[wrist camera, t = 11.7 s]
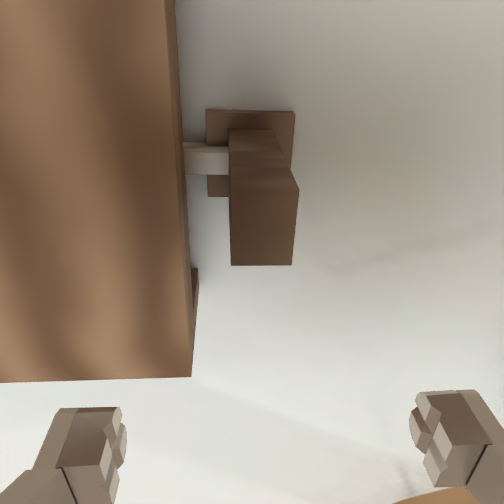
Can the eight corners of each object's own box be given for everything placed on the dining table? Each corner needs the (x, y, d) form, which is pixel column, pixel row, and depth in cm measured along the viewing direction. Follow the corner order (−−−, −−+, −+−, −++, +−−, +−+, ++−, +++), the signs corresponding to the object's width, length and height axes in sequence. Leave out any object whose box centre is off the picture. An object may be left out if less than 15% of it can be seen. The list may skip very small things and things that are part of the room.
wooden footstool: (181, -58, 22) (155, -104, 14) (198, 287, 34) (191, 376, 26) (-120, -71, 21) (-353, -132, 13) (9, 290, 33) (-65, 384, 25)
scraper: (293, 103, 27) (337, 157, 17) (285, 198, 31) (317, 289, 20) (-83, 94, 25) (-292, 147, 15) (-45, 195, 29) (-193, 294, 19)
